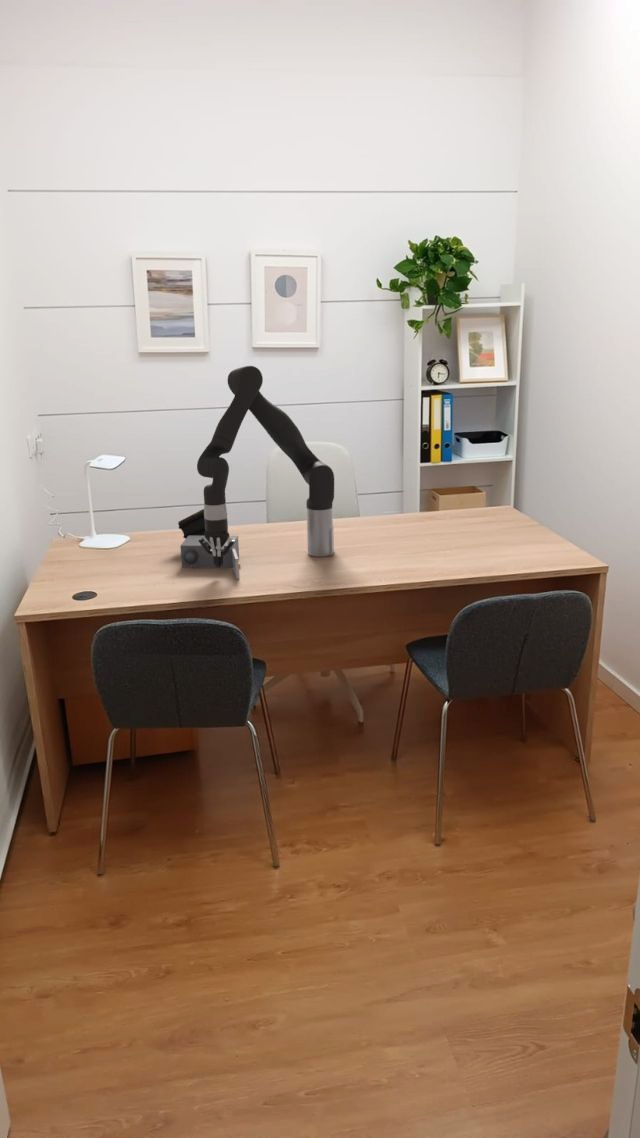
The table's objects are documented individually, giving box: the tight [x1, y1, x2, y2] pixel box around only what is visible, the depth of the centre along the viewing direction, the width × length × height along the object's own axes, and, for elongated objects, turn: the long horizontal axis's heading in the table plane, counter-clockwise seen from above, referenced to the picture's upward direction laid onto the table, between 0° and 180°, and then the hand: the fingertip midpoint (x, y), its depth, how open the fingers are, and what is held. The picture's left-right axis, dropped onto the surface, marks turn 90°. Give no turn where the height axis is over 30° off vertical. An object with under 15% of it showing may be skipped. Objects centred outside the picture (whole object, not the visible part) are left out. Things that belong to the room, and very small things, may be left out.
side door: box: [232, 548, 241, 580], centre depth 289 cm, size 12×2×7 cm, turn 11°
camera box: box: [180, 535, 240, 569], centre depth 301 cm, size 18×14×9 cm
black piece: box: [177, 508, 206, 540], centre depth 316 cm, size 4×13×15 cm, turn 93°
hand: (218, 566), depth 287 cm, fingers closed
